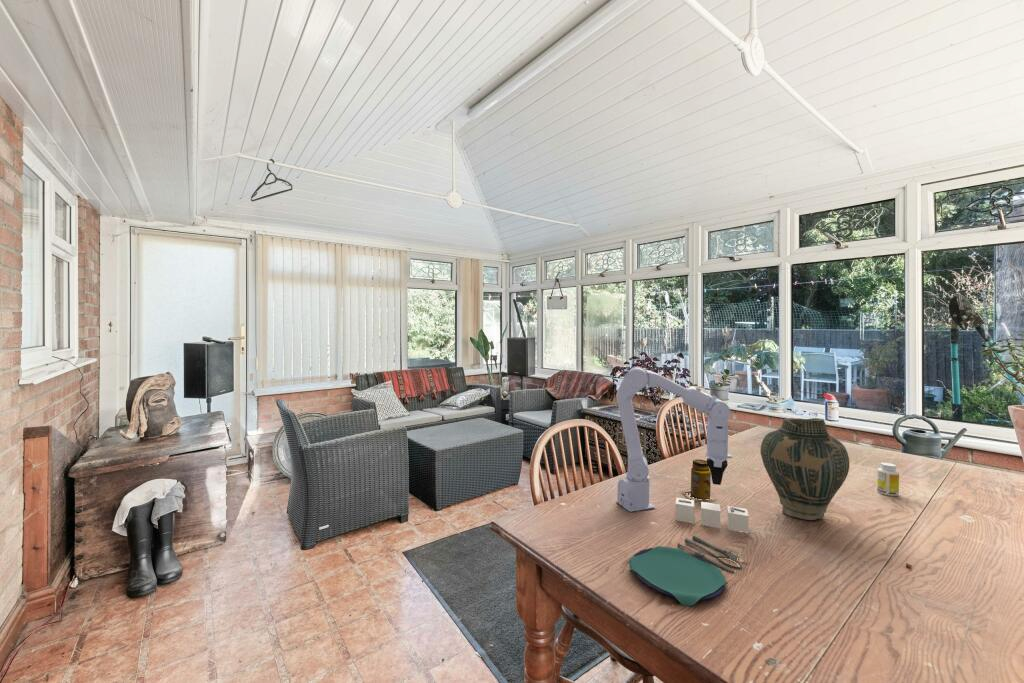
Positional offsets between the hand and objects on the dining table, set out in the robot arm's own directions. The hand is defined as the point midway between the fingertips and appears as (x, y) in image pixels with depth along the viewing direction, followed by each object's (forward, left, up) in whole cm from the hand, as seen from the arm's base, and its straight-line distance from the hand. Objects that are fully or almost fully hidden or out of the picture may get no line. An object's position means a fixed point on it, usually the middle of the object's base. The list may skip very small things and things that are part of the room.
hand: (716, 483), depth 126 cm
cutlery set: (-29, -22, -10) cm, 38 cm away
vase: (+25, -8, -10) cm, 28 cm away
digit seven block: (-1, -9, -10) cm, 13 cm away
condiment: (+5, +13, -10) cm, 17 cm away
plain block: (-6, -4, -10) cm, 12 cm away
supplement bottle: (+70, -5, -10) cm, 71 cm away
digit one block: (-11, +1, -10) cm, 15 cm away
